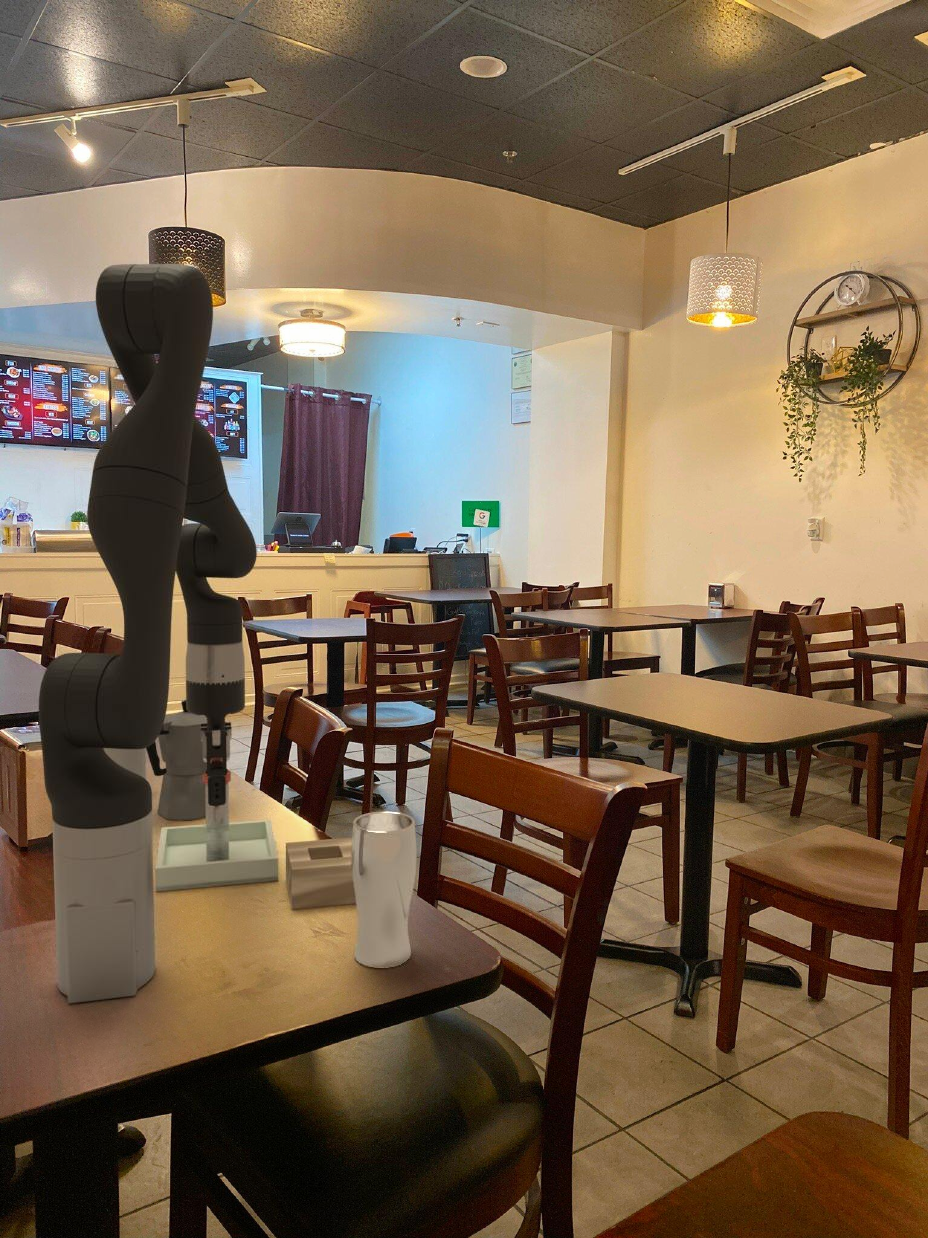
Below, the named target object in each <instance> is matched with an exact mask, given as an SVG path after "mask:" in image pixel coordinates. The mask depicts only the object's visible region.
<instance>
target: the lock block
mask: <svg viewBox="0 0 928 1238" xmlns="http://www.w3.org/2000/svg"><path fill="white" fill-rule="evenodd" d="M351 846H352V837H344V838H342V837H341V838H329V839H317V840H304V841H292V842H291V841H290V842H285V882H286V886H287V887H286V888H287V891H288V892H287V893H288V896H289V901H290V907H291V910H302V909H310V908H321V907H322V908H323V907H331V906H332V907H333V906H341V905H342V906H343V905H350V904H351V905H352V904H356V901H355V895H354V889H353V883H352V874H351Z"/></svg>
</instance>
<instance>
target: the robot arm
mask: <svg viewBox="0 0 928 1238" xmlns="http://www.w3.org/2000/svg"><path fill="white" fill-rule="evenodd" d="M95 307H96V312H97V317H98V320H99V324H100V327H101V330H102V334H103V336H104V339H105V342H106V344H107V346H108V349H109V350H110V353H111V355H112V356H113V360H114V362H115V364H116V366H117V368H118V371H119V372H120V375H121V377H122V378H123V381H124V383H125V385H126V388H127V390H128V392H129V393H130V396H131V398H132V400H133V402H134V405H133V406H132V407H131V408H130V409H129V410H128V412H126V414H125V415H124V417H122V418H121V420H120V421H119V422H118V423H117V424H116V426H114V428H113V430H112V431H111V432H110V433H109V435H108V436H107V437H106V439H105V440H104V442H103V443H102V445H101V447H100V448H99V450H98V451H97V453H96V456H95V459H94V462H93V469H92V472H91V473H92V474H91V481H90V488H89V495H88V496H89V497H88V503H87V512H86V519H87V520H86V521H87V526H88V527H87V528H88V531H89V534H90V537H91V540H92V541H93V544H94V546H95V548H96V550H97V552H98V554H99V556H100V558H101V560H102V562H103V565H104V566H105V568H106V570H107V571H108V573H109V575H110V578H111V579H112V582H113V584H114V586H115V588H116V590H117V593H118V596H119V600H120V602H121V607H122V612H123V644H122V651H121V653H103V652H100V653H99V652H92V653H91V652H67V653H63V654H61V655H58V656H56V657H55V658H54V659H53V660H52V661H51V662H50V663H49V665H47V668H46V669H45V672H44V673H43V676H42V680H41V683H40V689H39V695H38V721H39V722H38V724H39V733H40V734H39V735H40V744H41V753H42V755H41V756H42V765H43V779H44V788H45V792H46V795H47V797H48V800H49V803H50V805H51V819H52V820H51V822H52V825H51V826H52V853H53V854H52V855H53V856H52V859H53V882H54V885H53V886H54V912H55V913H54V917H55V919H54V920H55V921H54V922H55V946H56V947H55V949H56V968H57V970H56V972H57V975H56V976H57V977H56V978H57V988H58V990H59V991H60V992H61V993H62V994H63V995H64V996H66V997H67V1003H68V1004H75V1003H82V1002H92V1001H100V1000H108V999H109V1000H110V999H116V998H126V997H133V996H136V995H137V992H138V991H139V989H140V988H142V987H143V986H144V985H145V984H147V983H148V982H149V981H151V979H152V978H153V977H154V974H155V972H156V944H155V939H156V937H155V932H156V931H155V900H154V898H155V895H154V889H155V887H154V854H153V853H154V850H153V849H154V847H153V846H154V845H153V843H154V841H153V839H154V838H153V836H154V835H153V834H154V832H153V831H154V830H153V793H152V786H151V784H150V782H149V781H148V780H147V778H146V779H145V778H143V777H142V776H140V775H138V774H136V773H133V772H131V771H129V770H127V769H125V768H123V767H122V766H120V765H118V764H117V763H116V762H114V761H113V760H112V759H111V758H110V757H109V756H108V755H107V754H106V753H105V751H104V749H103V748H111V749H144V748H145V749H146V748H147V747H149V746H150V745H151V744H153V743H154V742H155V743H156V741H157V739H158V736H159V734H160V731H161V729H162V726H163V723H164V720H165V716H166V715H167V709H168V703H169V692H170V691H169V689H170V674H171V648H172V647H171V644H172V642H171V640H172V636H171V635H172V616H173V615H172V612H173V602H174V601H173V600H174V589H175V581H176V580H175V579H176V576H177V579H178V582H179V586H180V589H181V593H182V596H183V597H182V598H183V602H184V606H185V610H186V641H187V642H186V653H185V700H186V709H187V711H188V712H189V713H191V714H195V715H205V716H206V717H207V723H201V741H202V742H203V761H204V762H206V763H207V770H206V775H207V778H208V804H209V805H210V806H218V805H224V804H225V803H226V776H227V774H228V770H229V769H228V766H227V765H228V764H227V762H229V760H231V740H232V739H233V738H232V737H233V731H232V730H233V729H232V728H233V727H232V722H231V721H226V717H227V716H228V715H234V714H237V713H241V712H243V710H244V709H245V707H246V683H245V682H246V676H245V675H246V673H245V672H246V671H245V670H246V669H245V667H246V666H245V665H246V664H245V663H246V662H245V659H246V658H245V657H246V656H245V651H244V643H243V607H242V606H243V605H242V603H241V601H240V600H238V598H236V597H232V596H228V595H226V594H221V593H218V592H217V591H214V589H212V587H211V585H210V584H209V581H208V579H207V578H211V579H213V578H214V579H215V578H216V579H241V578H244V577H246V576H247V575H249V574H250V573H251V572H252V570H253V568H254V566H255V565H256V561H257V556H258V554H257V553H258V551H257V550H258V549H257V544H256V541H255V537H254V535H253V531H252V530H251V528H250V527H249V524H248V523H247V521H246V520H245V518H244V516H243V514H242V513H241V511H240V509H239V508H238V506H237V504H236V502H235V501H234V498H233V496H232V495H231V493H230V490H229V487H228V483H227V479H226V474H225V469H224V466H223V461H222V458H221V454H220V451H219V449H218V446H217V443H216V441H215V439H214V438H213V436H212V435H211V433H210V432H209V430H208V429H207V428H206V427H205V426H204V424H203V423H202V422H201V421H200V420H199V418H198V417H197V415H196V411H197V410H196V409H197V403H198V399H199V395H200V390H201V386H202V380H203V377H204V372H205V367H206V362H207V358H208V353H209V349H210V343H211V339H212V329H213V321H214V303H213V295H212V290H211V286H210V283H209V281H208V279H207V277H206V276H205V274H204V273H203V272H202V270H201V269H199V268H198V267H195V266H193V265H188V264H182V263H152V264H151V263H147V264H146V263H141V264H139V263H138V264H137V263H135V264H134V263H133V264H132V263H131V264H128V263H127V264H122V263H121V264H113V265H109V266H108V267H106V268H104V269H103V271H102V272H101V273H100V274H99V277H98V280H97V282H96V288H95ZM157 355H158V359H156V356H157ZM184 519H185V520H187V521H191V522H194V523H191V522H190V523H189V522H188V523H186V524H184V523H183V522H184Z"/></svg>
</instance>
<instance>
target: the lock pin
mask: <svg viewBox="0 0 928 1238" xmlns="http://www.w3.org/2000/svg"><path fill="white" fill-rule="evenodd" d="M231 780H232V771H230V770H229V769H228V774H227V776H226V803H225V804H224V805H218V806H210V805H209V804H208V778H207V775H206V772H204V773H203V782H204V783H205V797H206V817H205V824H206V861H207V862H211V861H223V860H229V823H230V802H229V800H230V798H229V795H230V793H229V792H230V791H229V789H230V786H229V785H230V783H229V782H231Z"/></svg>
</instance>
